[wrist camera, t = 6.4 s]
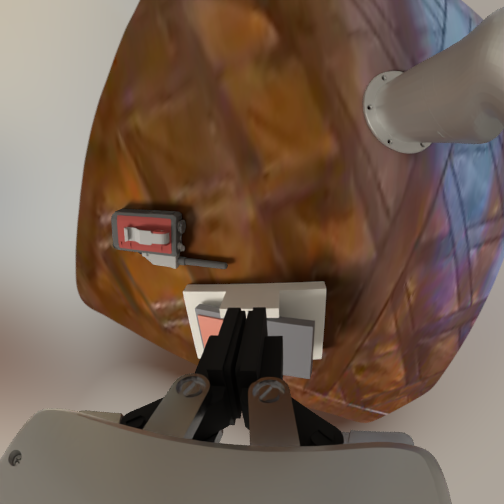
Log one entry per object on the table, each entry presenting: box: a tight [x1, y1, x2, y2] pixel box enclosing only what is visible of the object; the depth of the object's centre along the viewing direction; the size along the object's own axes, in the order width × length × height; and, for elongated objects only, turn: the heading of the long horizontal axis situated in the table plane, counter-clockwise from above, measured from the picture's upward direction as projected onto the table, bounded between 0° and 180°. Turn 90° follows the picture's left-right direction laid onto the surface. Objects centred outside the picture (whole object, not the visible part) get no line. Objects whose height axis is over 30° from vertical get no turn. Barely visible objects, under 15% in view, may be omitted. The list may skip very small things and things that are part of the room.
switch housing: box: [183, 281, 326, 359], centre depth 42 cm, size 22×14×8 cm, turn 94°
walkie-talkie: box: [111, 209, 228, 269], centre depth 41 cm, size 9×4×20 cm
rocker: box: [195, 304, 315, 379], centre depth 40 cm, size 18×10×2 cm, turn 92°
